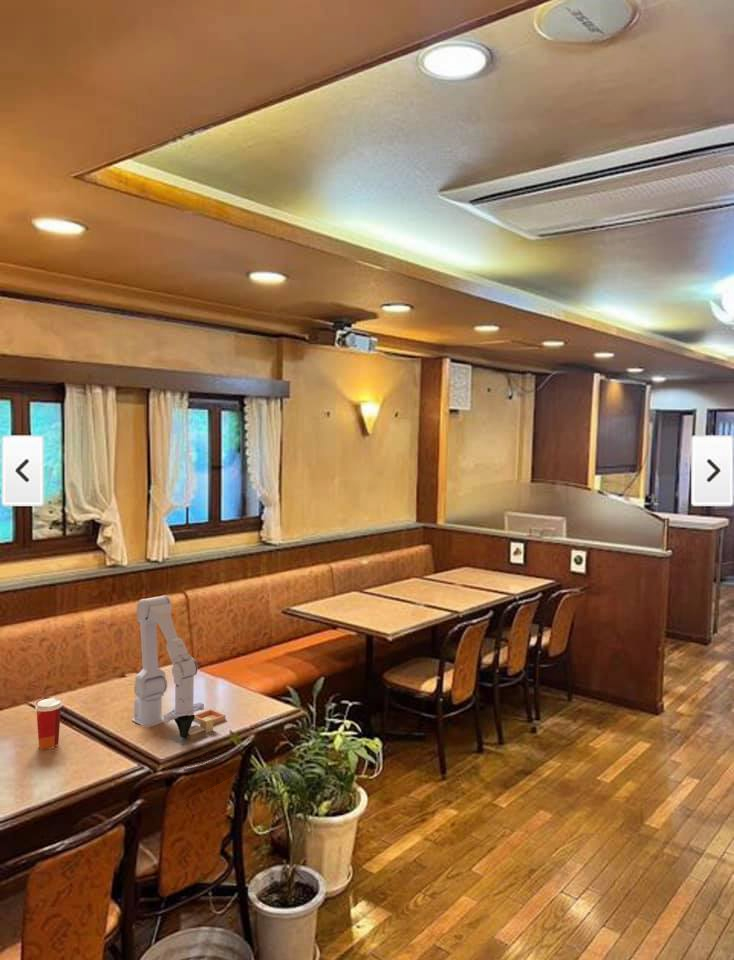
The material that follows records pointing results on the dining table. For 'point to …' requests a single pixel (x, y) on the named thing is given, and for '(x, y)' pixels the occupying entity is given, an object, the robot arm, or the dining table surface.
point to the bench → (185, 741)
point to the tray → (212, 714)
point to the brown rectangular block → (196, 732)
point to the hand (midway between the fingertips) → (183, 736)
